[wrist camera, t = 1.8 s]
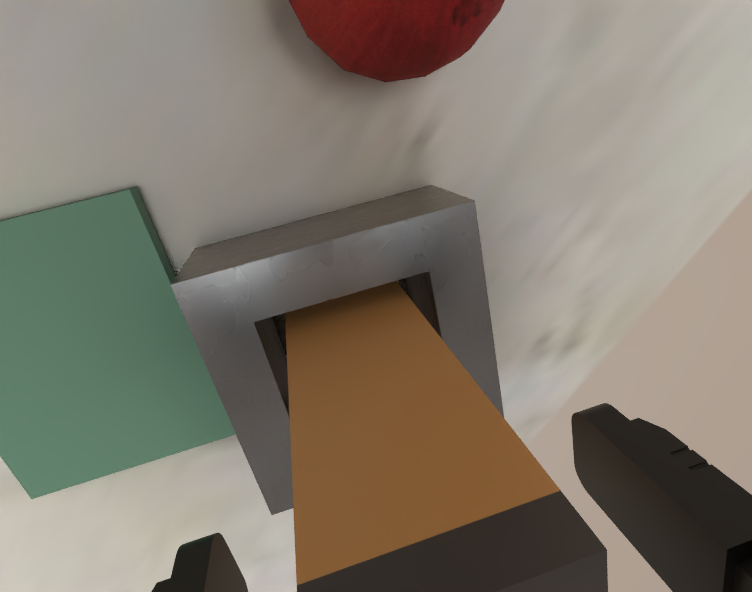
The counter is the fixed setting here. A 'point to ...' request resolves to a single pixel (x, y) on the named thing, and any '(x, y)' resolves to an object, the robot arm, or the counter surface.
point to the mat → (95, 347)
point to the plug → (415, 465)
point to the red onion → (395, 33)
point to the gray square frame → (322, 283)
